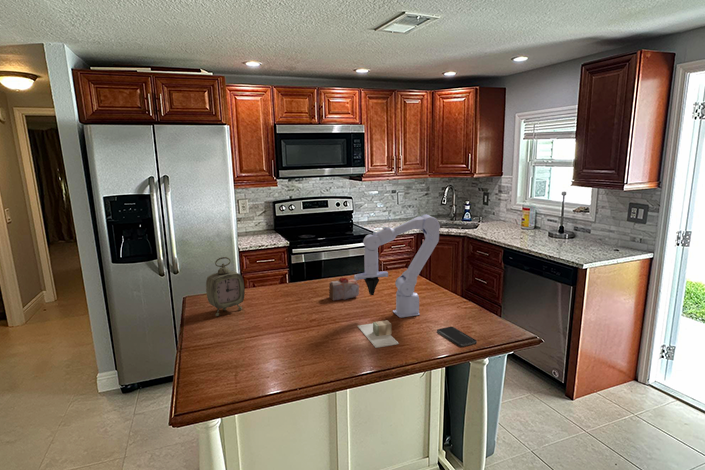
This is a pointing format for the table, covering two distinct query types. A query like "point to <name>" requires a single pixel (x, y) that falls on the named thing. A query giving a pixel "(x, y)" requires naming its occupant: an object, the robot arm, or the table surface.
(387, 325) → the tan and green sponge
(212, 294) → the tabletop clock
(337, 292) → the grey carrying case
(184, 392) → the table surface
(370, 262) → the robot arm
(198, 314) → the table surface
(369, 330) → the mat
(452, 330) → the phone
